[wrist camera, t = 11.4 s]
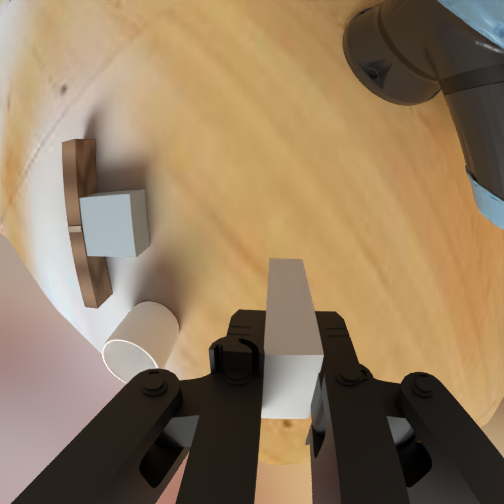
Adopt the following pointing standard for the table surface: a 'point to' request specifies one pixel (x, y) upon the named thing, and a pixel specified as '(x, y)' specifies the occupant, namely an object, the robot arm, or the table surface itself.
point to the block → (115, 223)
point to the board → (77, 186)
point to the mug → (141, 341)
